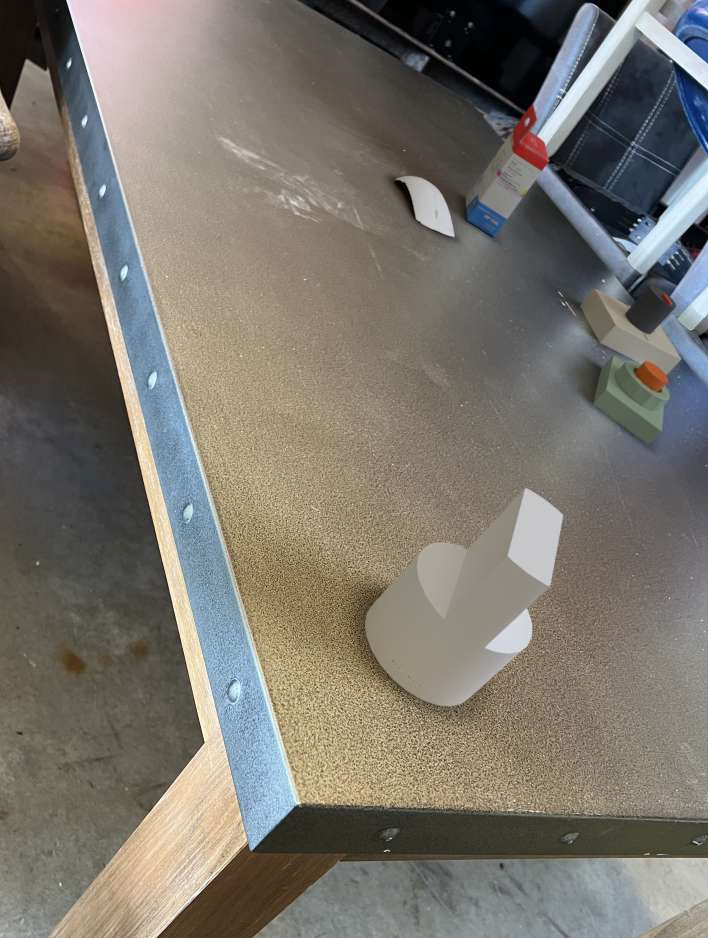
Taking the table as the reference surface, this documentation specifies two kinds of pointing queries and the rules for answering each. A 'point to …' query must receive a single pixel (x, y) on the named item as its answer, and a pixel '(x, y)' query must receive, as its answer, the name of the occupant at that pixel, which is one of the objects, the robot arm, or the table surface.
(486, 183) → the ink box
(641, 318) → the program dial
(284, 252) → the table surface
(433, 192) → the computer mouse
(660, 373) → the button
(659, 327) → the dial panel
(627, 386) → the block
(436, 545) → the cylinder with rectangular tab
